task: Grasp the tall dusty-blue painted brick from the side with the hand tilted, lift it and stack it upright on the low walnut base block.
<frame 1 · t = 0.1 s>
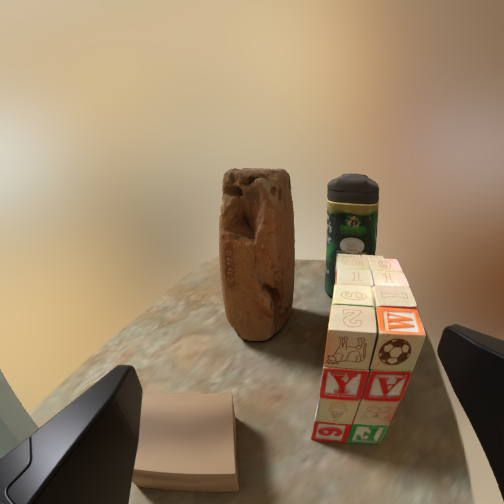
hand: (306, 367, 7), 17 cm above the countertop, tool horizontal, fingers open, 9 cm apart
stack of blocks: (352, 367, 29), on the countertop
coffee jar: (347, 290, 46), on the countertop
block: (261, 323, 39), on the countertop
walnut base: (188, 452, 19), on the countertop
blue brick: (47, 482, 13), on the countertop
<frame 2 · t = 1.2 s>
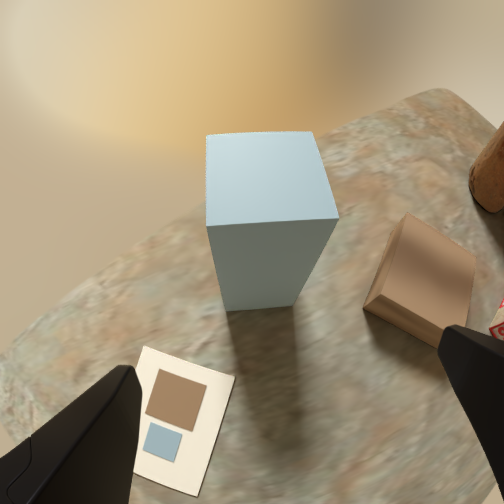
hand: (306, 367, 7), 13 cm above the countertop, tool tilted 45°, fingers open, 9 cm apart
instruction page: (168, 424, 17), on the countertop
block: (485, 190, 29), on the countertop
walnut base: (415, 288, 22), on the countertop
blue brick: (256, 277, 22), on the countertop
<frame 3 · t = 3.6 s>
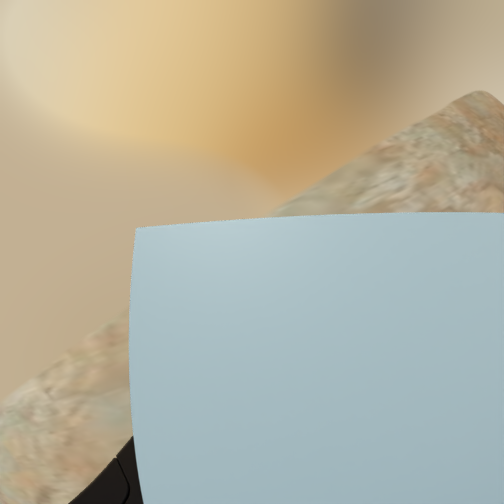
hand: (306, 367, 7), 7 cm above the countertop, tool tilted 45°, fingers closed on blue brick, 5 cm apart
blue brick: (281, 403, 12), on the countertop, touching gripper
when the fingers open (11 cm above the countertop, at t = 6.5 s): blue brick stays where it is, resting on walnut base.
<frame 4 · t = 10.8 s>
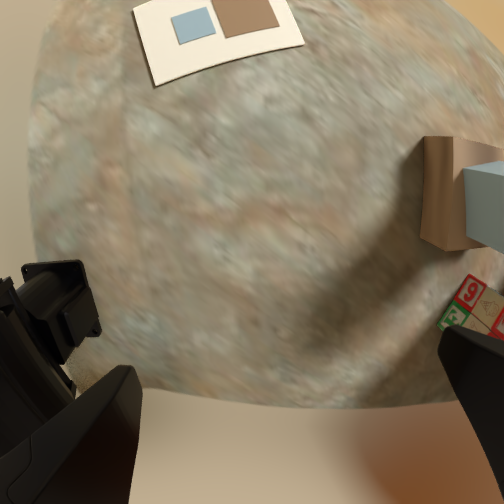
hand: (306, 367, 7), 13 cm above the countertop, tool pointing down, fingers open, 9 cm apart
stack of blocks: (487, 326, 26), on the countertop
instruction page: (215, 19, 14), on the countertop
walnut base: (457, 189, 19), on the countertop
blue brick: (485, 196, 16), point 3 cm above the countertop, touching walnut base
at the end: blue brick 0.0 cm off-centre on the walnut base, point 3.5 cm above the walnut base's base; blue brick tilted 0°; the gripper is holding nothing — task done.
